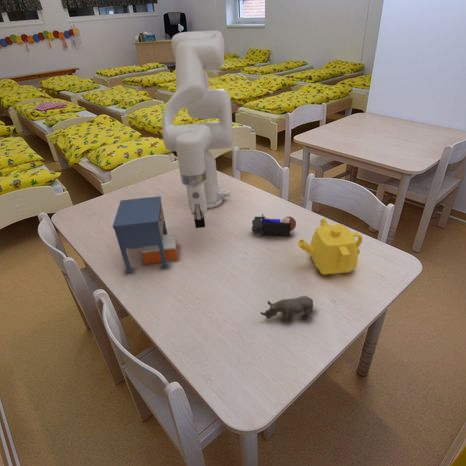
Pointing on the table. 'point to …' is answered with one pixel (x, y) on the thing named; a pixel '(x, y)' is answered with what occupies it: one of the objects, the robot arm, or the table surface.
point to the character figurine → (273, 226)
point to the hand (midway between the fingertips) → (200, 226)
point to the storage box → (153, 253)
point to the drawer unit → (139, 226)
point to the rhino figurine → (290, 307)
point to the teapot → (333, 248)
